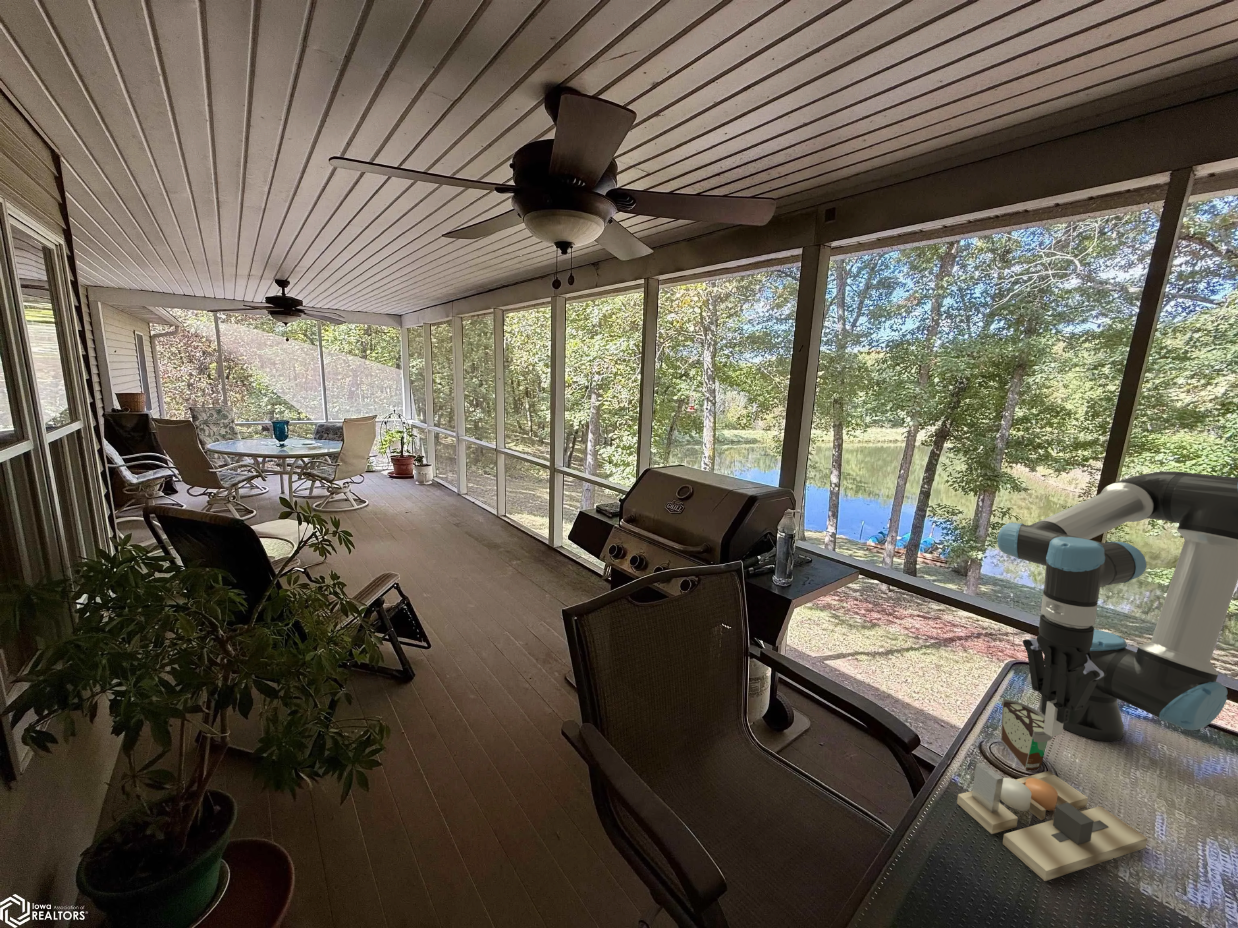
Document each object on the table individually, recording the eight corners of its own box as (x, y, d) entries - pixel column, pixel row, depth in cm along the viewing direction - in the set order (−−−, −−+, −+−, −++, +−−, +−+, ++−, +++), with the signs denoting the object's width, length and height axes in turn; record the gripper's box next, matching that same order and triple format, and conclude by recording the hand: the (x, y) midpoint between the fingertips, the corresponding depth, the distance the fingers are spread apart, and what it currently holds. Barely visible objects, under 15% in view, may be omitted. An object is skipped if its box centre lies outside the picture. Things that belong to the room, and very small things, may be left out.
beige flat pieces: (1047, 779, 102) (1048, 770, 101) (1145, 847, 86) (1147, 837, 86) (957, 803, 96) (958, 793, 96) (1044, 880, 80) (1046, 870, 80)
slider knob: (1064, 821, 89) (1067, 802, 89) (1090, 840, 85) (1093, 820, 85) (1052, 825, 88) (1055, 805, 88) (1078, 844, 85) (1081, 824, 84)
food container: (1063, 779, 102) (1069, 736, 100) (1029, 775, 103) (1035, 732, 101) (1026, 739, 114) (1031, 700, 112) (997, 735, 115) (1001, 697, 113)
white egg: (1010, 788, 97) (1012, 775, 96) (1036, 807, 92) (1038, 794, 92) (991, 792, 96) (993, 780, 95) (1017, 813, 91) (1018, 799, 91)
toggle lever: (977, 794, 96) (982, 762, 95) (997, 811, 92) (1003, 778, 91) (971, 795, 95) (976, 763, 94) (991, 812, 91) (996, 779, 90)
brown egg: (1036, 787, 99) (1037, 775, 98) (1062, 807, 94) (1064, 794, 94) (1018, 792, 98) (1019, 780, 97) (1043, 812, 93) (1045, 799, 93)
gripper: (1015, 607, 96) (1004, 714, 100) (1093, 639, 84) (1077, 760, 87) (1044, 602, 98) (1031, 708, 101) (1124, 633, 85) (1107, 752, 89)
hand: (1052, 732), depth 94 cm, fingers closed
